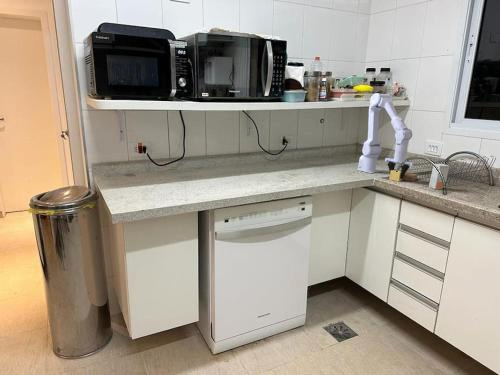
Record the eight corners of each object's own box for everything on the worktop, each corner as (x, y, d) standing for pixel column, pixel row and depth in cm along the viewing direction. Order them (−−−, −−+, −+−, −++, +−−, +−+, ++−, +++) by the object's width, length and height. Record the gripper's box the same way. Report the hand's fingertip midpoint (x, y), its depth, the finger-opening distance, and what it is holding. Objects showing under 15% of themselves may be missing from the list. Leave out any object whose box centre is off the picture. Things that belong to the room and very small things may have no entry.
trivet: (393, 177, 190) (394, 173, 190) (400, 175, 197) (401, 171, 196) (410, 181, 184) (411, 176, 184) (416, 179, 190) (417, 174, 190)
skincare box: (434, 189, 171) (439, 165, 167) (428, 187, 174) (433, 163, 171) (444, 189, 172) (450, 165, 169) (438, 186, 176) (443, 163, 173)
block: (389, 179, 186) (390, 170, 184) (393, 178, 189) (394, 169, 188) (398, 181, 182) (400, 172, 181) (402, 180, 186) (404, 171, 184)
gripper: (384, 150, 184) (380, 175, 188) (411, 155, 174) (406, 181, 178) (390, 149, 189) (385, 173, 192) (417, 154, 179) (412, 179, 182)
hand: (396, 177), depth 185 cm, fingers closed on block, 5 cm apart
